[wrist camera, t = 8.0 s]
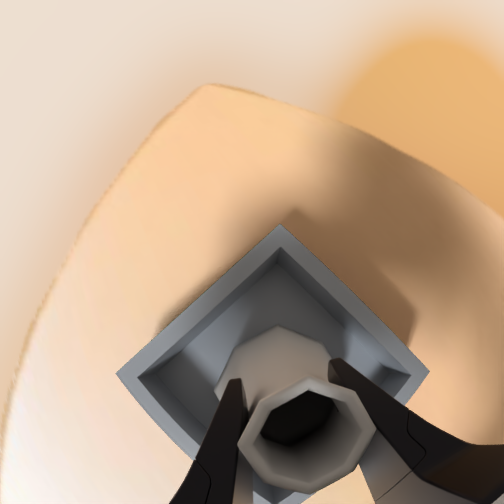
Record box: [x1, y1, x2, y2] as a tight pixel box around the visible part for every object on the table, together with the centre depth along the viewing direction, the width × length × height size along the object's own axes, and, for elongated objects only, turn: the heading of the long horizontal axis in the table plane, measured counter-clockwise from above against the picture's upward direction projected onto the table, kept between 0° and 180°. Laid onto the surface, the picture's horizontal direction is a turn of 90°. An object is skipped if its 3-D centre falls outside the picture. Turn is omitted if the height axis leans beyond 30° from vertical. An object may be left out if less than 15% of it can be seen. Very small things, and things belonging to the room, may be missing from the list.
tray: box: [116, 224, 430, 504], centre depth 15 cm, size 13×13×4 cm
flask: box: [213, 324, 376, 495], centre depth 10 cm, size 7×7×10 cm
